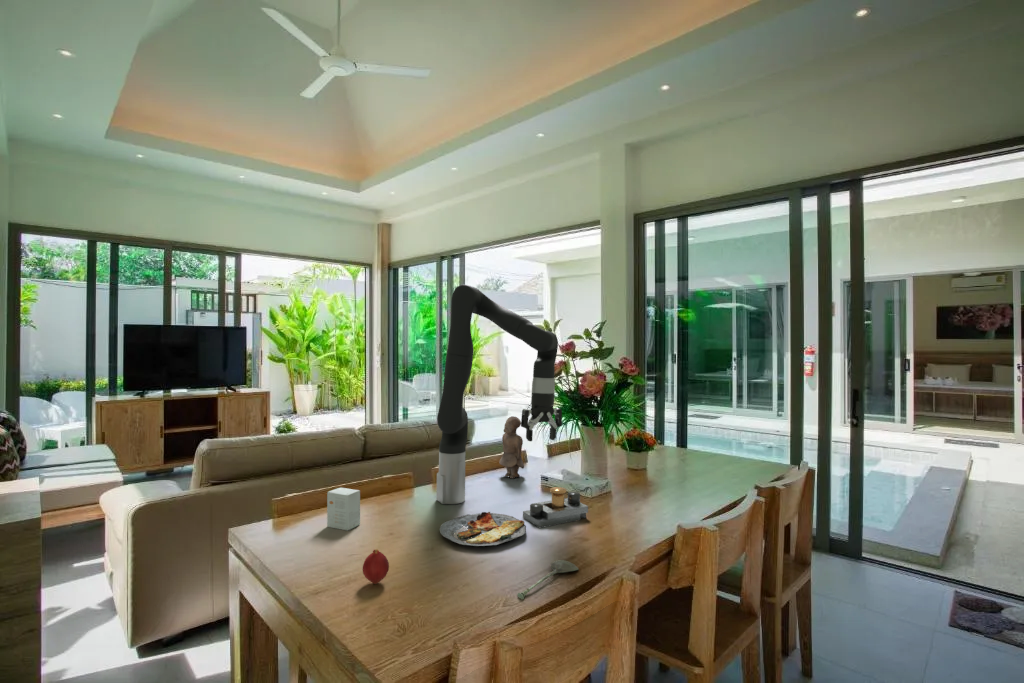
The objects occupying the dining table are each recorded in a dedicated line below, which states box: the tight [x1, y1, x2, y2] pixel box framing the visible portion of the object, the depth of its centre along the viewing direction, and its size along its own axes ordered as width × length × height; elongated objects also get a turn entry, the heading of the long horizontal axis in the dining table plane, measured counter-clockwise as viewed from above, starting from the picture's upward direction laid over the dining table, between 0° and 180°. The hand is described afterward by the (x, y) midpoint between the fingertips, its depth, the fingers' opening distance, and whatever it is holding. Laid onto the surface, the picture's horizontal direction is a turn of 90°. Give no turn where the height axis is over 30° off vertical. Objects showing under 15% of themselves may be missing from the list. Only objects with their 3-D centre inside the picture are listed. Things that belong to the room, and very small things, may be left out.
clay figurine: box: [498, 416, 525, 479], centre depth 212 cm, size 13×10×25 cm
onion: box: [362, 548, 390, 585], centre depth 118 cm, size 6×6×8 cm
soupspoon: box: [516, 559, 579, 600], centre depth 120 cm, size 22×3×7 cm
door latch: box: [522, 491, 589, 528], centre depth 163 cm, size 18×10×7 cm, turn 118°
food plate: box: [439, 511, 527, 548], centre depth 149 cm, size 25×23×4 cm
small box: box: [326, 486, 361, 531], centre depth 154 cm, size 8×6×10 cm
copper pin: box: [549, 486, 567, 510], centre depth 163 cm, size 5×5×9 cm
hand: (540, 440), depth 169 cm, fingers open, 8 cm apart
